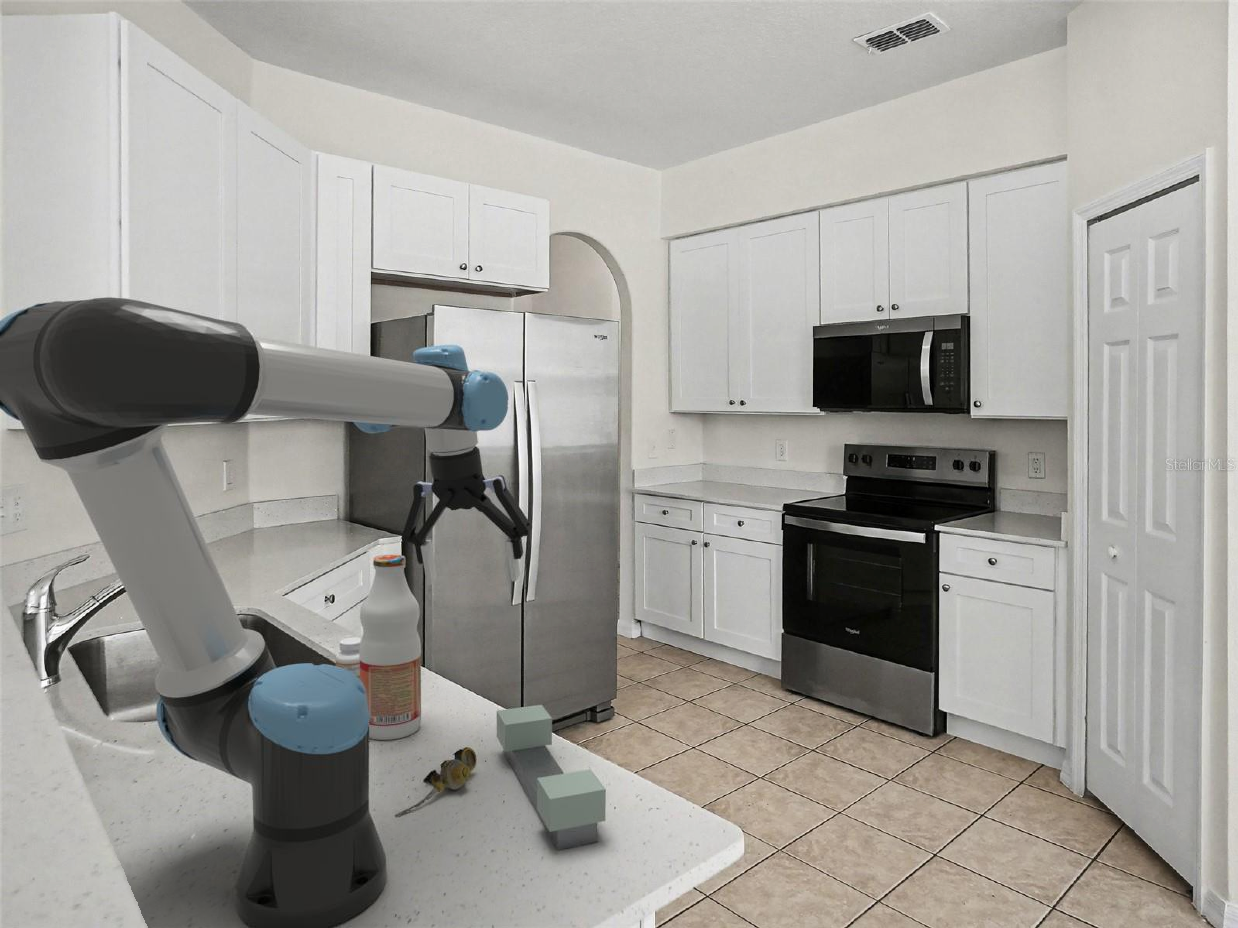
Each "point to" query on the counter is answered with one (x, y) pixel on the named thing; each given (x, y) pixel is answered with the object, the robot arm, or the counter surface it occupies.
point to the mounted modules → (557, 795)
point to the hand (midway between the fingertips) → (473, 579)
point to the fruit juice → (391, 652)
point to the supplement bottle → (349, 655)
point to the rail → (527, 770)
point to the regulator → (450, 774)
